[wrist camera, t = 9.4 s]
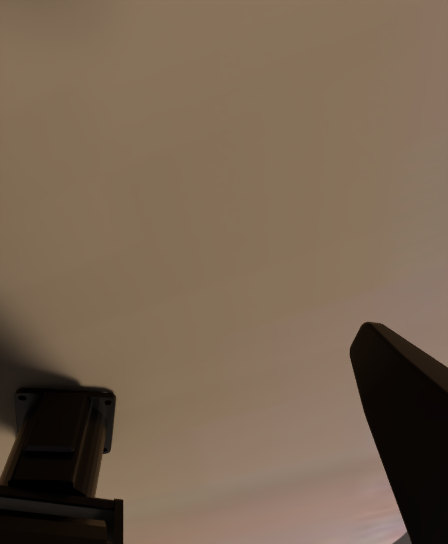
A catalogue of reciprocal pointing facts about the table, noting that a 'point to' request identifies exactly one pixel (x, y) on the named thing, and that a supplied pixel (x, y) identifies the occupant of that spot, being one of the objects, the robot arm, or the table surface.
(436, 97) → the table surface
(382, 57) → the table surface
